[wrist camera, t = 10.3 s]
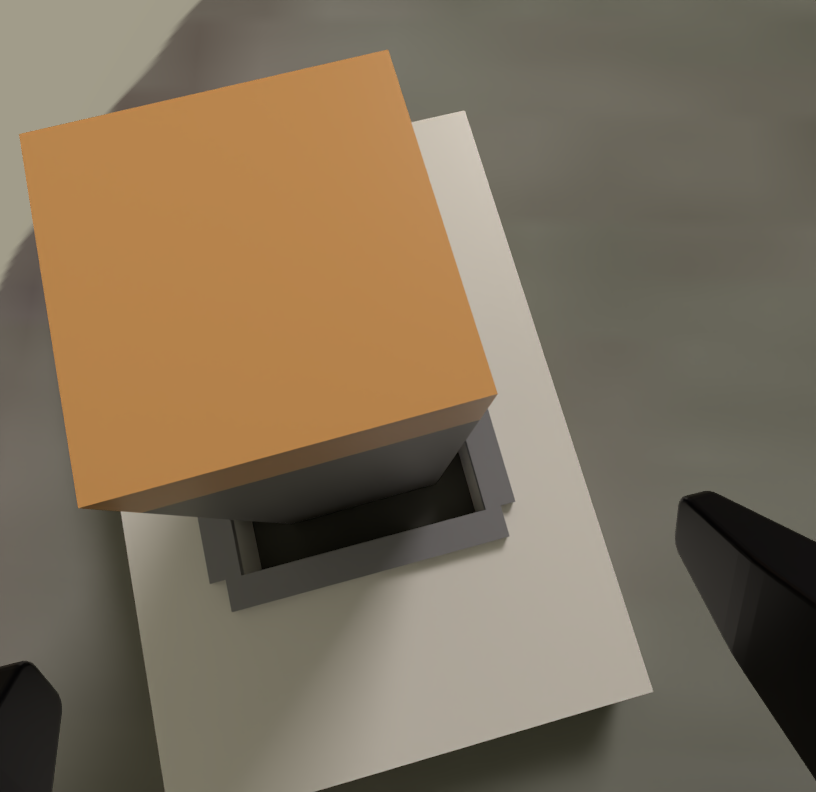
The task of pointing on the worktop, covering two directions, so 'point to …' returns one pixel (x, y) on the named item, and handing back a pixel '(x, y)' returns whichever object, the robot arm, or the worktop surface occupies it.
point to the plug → (254, 300)
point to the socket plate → (396, 584)
